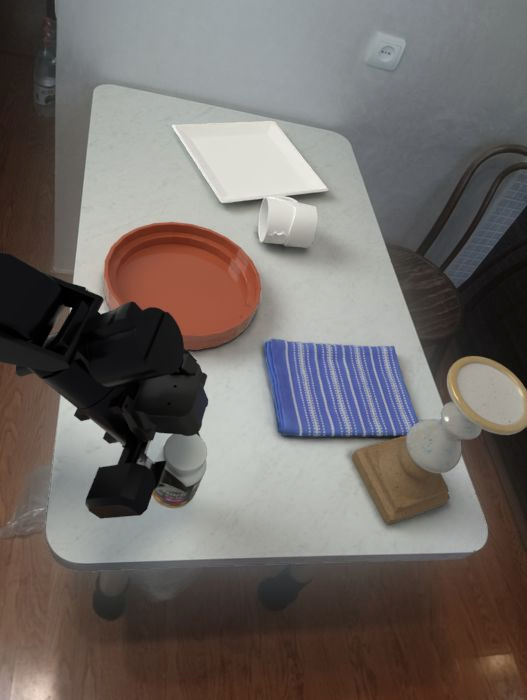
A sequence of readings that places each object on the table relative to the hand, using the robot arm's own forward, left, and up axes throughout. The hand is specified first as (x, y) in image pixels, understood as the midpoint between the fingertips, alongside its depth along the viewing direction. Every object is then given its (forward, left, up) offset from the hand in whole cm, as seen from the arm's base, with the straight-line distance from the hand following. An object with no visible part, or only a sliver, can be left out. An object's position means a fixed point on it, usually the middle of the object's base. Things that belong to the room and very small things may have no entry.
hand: (191, 467), depth 60 cm
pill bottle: (-1, 0, -7) cm, 7 cm away
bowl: (+2, +37, -11) cm, 38 cm away
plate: (+18, +76, -11) cm, 79 cm away
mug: (+22, +54, -11) cm, 59 cm away
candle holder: (+32, +3, -11) cm, 34 cm away
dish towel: (+26, +18, -11) cm, 33 cm away
